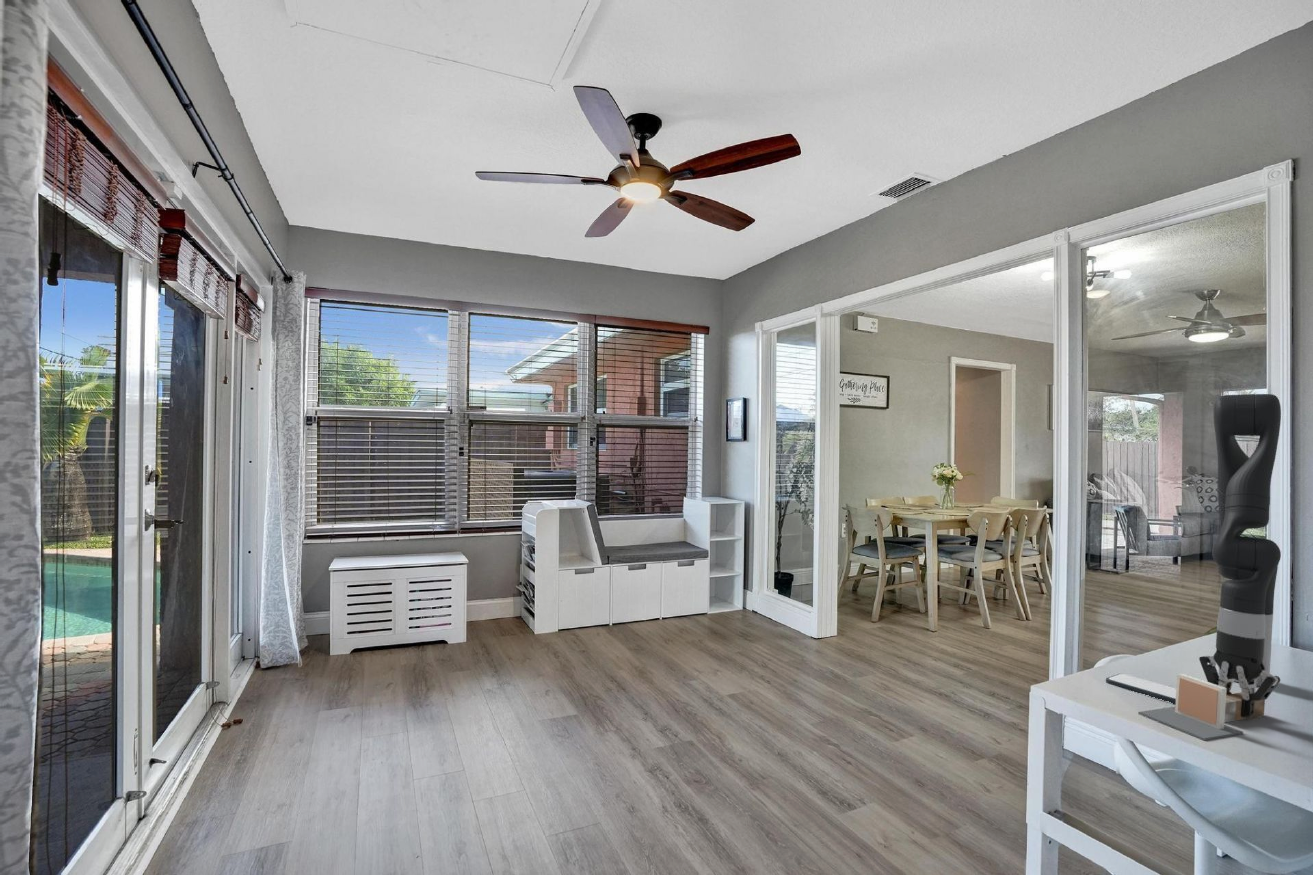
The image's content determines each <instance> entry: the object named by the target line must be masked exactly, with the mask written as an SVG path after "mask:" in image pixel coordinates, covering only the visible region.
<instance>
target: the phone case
mask: <svg viewBox="0 0 1313 875" xmlns="http://www.w3.org/2000/svg"><path fill="white" fill-rule="evenodd" d="M1105 683H1106V684H1108V685H1111V686H1114V687H1118V688H1121V689H1124V690H1127V691H1130V692H1133V691H1134V693H1136V692H1137V694H1139V693H1142V694H1145V695H1144V696H1146V695H1149V696H1151V697H1150V698H1152V697H1155V698H1158V699H1162V700H1164V701H1163V702H1165V701H1169V702H1171V703H1173V704H1172V705H1175V704H1176V688H1177V687H1171V686H1167V685H1165V684H1161V683H1158V682H1154V681H1150V680H1147V679H1144V678H1139V677H1135V676H1133V675H1130V674H1125V673H1118V674H1115V675H1112V676H1109V677H1106V678H1105ZM1142 694H1141V695H1142ZM1149 696H1148V697H1149ZM1155 698H1154V699H1155ZM1158 699H1157V700H1158ZM1162 700H1161V701H1162ZM1171 703H1170V704H1171Z"/></svg>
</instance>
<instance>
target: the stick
mask: <svg viewBox="0 0 1313 875" xmlns="http://www.w3.org/2000/svg"><path fill="white" fill-rule="evenodd" d="M1241 699H1243V697H1242V691H1241V692H1235V693H1232V694H1228V695H1226V706H1225V721H1224V723H1229V722H1230V723H1231V722H1234V721H1235V722H1236V721H1242V720H1247V719H1253V718H1258V717H1259V718H1260V717H1264V716H1265V705H1266V704H1265V703H1266V700H1259V701H1255V705H1254V714H1253V715H1252V716H1250V717H1248V718H1244V717H1241V704H1242V700H1241Z"/></svg>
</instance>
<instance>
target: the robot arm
mask: <svg viewBox="0 0 1313 875" xmlns="http://www.w3.org/2000/svg"><path fill="white" fill-rule="evenodd" d="M1281 417H1282V408H1281V402H1280V399H1279V398H1278V397H1277V395H1275V394H1273V393H1254V394H1252V393H1251V394H1250V393H1249V394H1247V393H1246V394H1226V395H1220V396H1219V397H1217V398H1216V400H1215V401H1214V405H1213V424H1214V425H1213V427H1214V433H1215V435H1214V436H1215V442H1216V451H1217V503H1218V516H1219V534H1218V535H1217V538H1216V539H1215V542H1214V544H1213V547H1212V551H1211V554H1212V559H1213V560H1214V562H1215V563H1216V564H1217V567H1218V570H1219V574H1220V575H1221V577H1223V578H1225V579H1226V580H1225V581H1223V582H1222V584H1221V587H1220V600H1219V602H1220V603H1219V610H1218V613H1217V614H1218V615H1217V622H1216V636H1215V637H1216V639H1215V640H1216V641H1215V648H1216V651H1215V652H1214V654H1213V656H1212V655H1205V656H1199V658H1198V659H1199V662H1200V665H1201V668H1202V670H1203V673H1204V676H1205V678H1206V682H1209V683H1212V684H1216V685H1219V686H1222V687H1225V688H1227V691H1226V695H1228V694H1233V693H1232V692H1231V690H1232V687H1233V683H1234V682H1235V683H1238V685H1239V688H1240V689H1241V692H1242V697H1243V699H1241V700H1242V704H1241V717H1244V718H1248V717H1250V716H1252V715H1253V714H1254V705H1255V701H1259V700H1265V701H1266V700H1267V699H1268V698H1269V697H1270V696H1271V694H1272V693H1273V692H1274V690H1275V689H1276V687H1277V686H1278V684H1279V683H1280V682H1281V678H1280V677H1279V675H1272V674H1271V673H1270V672H1271V660H1272V658H1271V657H1272V637H1273V622H1274V604H1275V603H1274V601H1275V589H1276V582H1277V576H1278V568H1279V563H1280V562H1281V554H1282V551H1281V549H1280V547H1279V546H1278V544H1277V543H1276V542H1275V541H1274V540H1271V539H1267V538H1262V537H1253V536H1250V537H1249V536H1242V534H1243V533H1244V532H1245V531H1246V530H1249V529H1261V528H1264V527H1266V526H1268V524H1269V523H1270V522H1269V521H1270V505H1271V484H1272V483H1271V482H1272V477H1273V471H1274V466H1275V460H1276V455H1277V451H1278V442H1279V438H1280V431H1281V422H1282V421H1281V419H1282V418H1281ZM1236 436H1240V437H1242V436H1243V437H1245V436H1247V437H1251V436H1252V437H1255V436H1257V437H1259V439H1258V443H1257V444H1256V445H1257V446H1256V447H1255V450H1254V451H1253V453H1252V454H1251V456H1250V457H1249V456H1248V455H1247V453H1245V451H1244V450H1243V449H1242V448H1241V446H1240V445H1239V443H1238V441H1237V438H1236ZM1216 666H1218V670H1217V668H1216ZM1257 687H1258V688H1257ZM1256 689H1257V690H1256ZM1248 719H1249V718H1248Z"/></svg>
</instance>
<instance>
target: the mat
mask: <svg viewBox="0 0 1313 875" xmlns="http://www.w3.org/2000/svg"><path fill="white" fill-rule="evenodd" d="M1140 714H1141V716H1142V715H1143V717H1145V716H1146V718H1147V717H1148V719H1150V720H1152V719H1153V721H1155V722H1157V721H1158V722H1157V723H1160V724H1163V725H1164V726H1167V727H1170V728H1172V729H1175V730H1177V731H1180V732H1182V733H1185V734H1187V735H1189V736H1192V737H1194V738H1196V739H1197V738H1198V739H1199V740H1201V741H1204V742H1205V741H1208V740H1215V739H1220V738H1226V737H1230V736H1238V735H1242V734H1244V731H1242V730H1241V729H1237V728H1235V727H1231V726H1229V725H1227V724H1224V728H1223V729H1218V728H1215V727H1213V726H1210V725H1207V724H1205V723H1202V722H1200V721H1197V720H1194V719H1192V718H1189V717H1186V716H1184V715H1181V714H1179V713H1176V712H1175V706H1169V707H1163V708H1157V709H1150V710H1144V711H1143V710H1142V711H1138V715H1140ZM1237 734H1238V735H1237Z"/></svg>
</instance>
